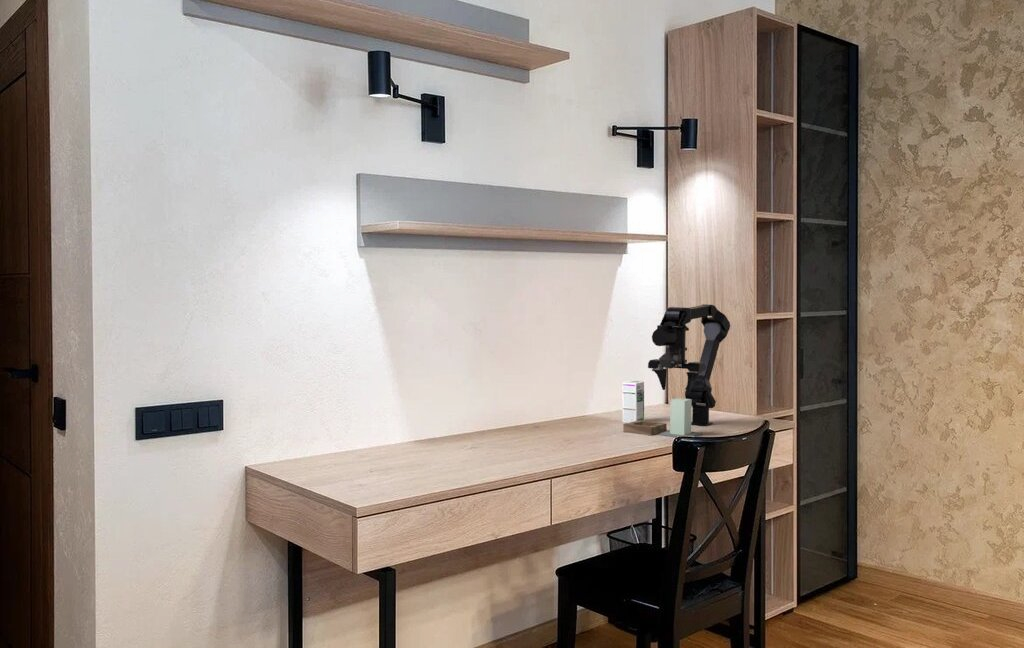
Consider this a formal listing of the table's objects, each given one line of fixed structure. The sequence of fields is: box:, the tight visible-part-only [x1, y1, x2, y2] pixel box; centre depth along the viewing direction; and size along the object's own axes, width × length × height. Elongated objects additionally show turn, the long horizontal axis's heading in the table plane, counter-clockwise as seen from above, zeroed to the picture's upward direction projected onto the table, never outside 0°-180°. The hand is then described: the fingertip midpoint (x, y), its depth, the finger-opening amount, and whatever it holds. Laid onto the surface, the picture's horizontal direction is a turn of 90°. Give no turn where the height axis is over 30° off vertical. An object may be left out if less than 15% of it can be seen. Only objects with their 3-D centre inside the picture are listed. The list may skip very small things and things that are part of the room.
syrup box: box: [621, 380, 645, 424], centre depth 299 cm, size 6×6×14 cm
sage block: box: [669, 397, 692, 435], centre depth 276 cm, size 5×5×11 cm
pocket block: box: [622, 420, 668, 436], centre depth 282 cm, size 10×10×2 cm
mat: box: [659, 430, 702, 438], centre depth 276 cm, size 10×10×1 cm
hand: (676, 391), depth 285 cm, fingers open, 9 cm apart
